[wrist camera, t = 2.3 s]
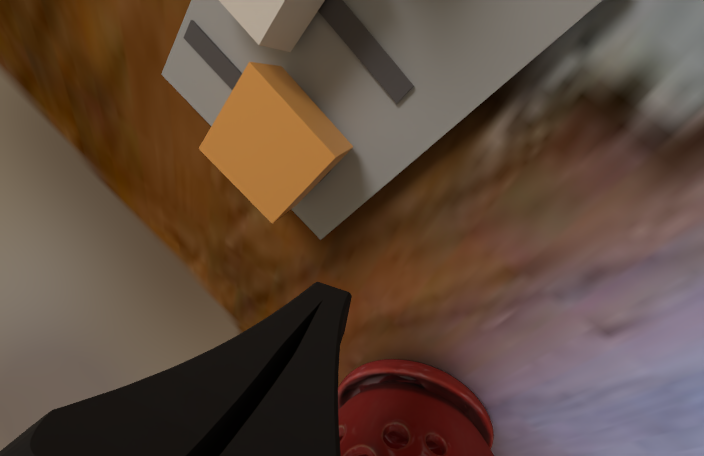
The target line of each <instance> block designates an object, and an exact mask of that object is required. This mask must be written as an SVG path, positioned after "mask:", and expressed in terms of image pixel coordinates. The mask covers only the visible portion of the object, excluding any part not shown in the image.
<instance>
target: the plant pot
mask: <svg viewBox="0 0 704 456" xmlns="http://www.w3.org/2000/svg"><path fill="white" fill-rule="evenodd" d="M338 416H339V436H340V452H341V456H494V455H493V453H492V452H491V450H490V449H491V447H492V443H493V427H492V424H491V420H490V418H489V415H488V413H487V411H486V410H485V408H484V406H483V405H482V403H481V402H480V401H479V400H478V398H477V397H476V396H475V395H474V394H473V393H472V392H471V391H470V390H469V389H468V388H467V387H466V386H465V385H464V384H462V383H461V382H460V381H458V380H457V379H455V378H454V377H452V376H451V375H449V374H447V373H445V372H443V371H441V370H439V369H436V368H434V367H432V366H429V365H426V364H423V363H419V362H414V361H409V360H400V359H385V360H378V361H373V362H370V363H366V364H364V365H362V366H360V367H358V368H356V369H355V370H353V371H352V372H351V373H349V374H348V375H347V376H346V377H345V378H344V380H343V381H342V383H341V384H340V386H339V388H338Z"/></svg>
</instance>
